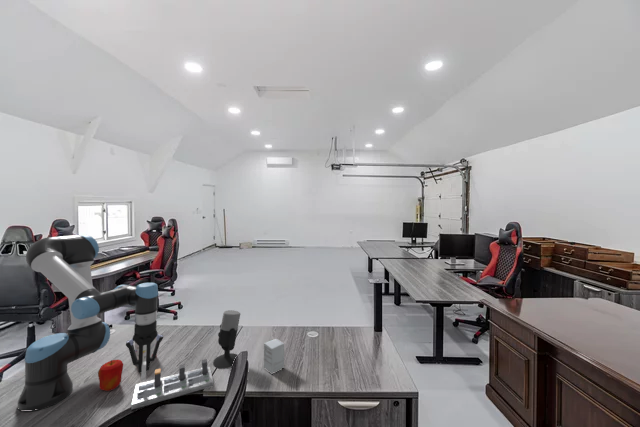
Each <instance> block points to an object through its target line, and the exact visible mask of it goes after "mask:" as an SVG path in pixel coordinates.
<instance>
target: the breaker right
mask: <svg viewBox="0 0 640 427" xmlns="http://www.w3.org/2000/svg"><path fill="white" fill-rule="evenodd" d="M207 366H208V359H207V358H205V359H204V358H203V359H202V360H201V368H202V371H200V375H203V374H206V373H208V369H207Z"/></svg>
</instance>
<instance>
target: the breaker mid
mask: <svg viewBox="0 0 640 427" xmlns="http://www.w3.org/2000/svg"><path fill="white" fill-rule="evenodd" d="M178 368H179V369H178V374H179V377H178V381H180V380H184V379H186V375H185V372H186V371H185V370H186V369H185V368H186V367H185V363H184V364H179V367H178Z"/></svg>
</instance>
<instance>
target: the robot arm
mask: <svg viewBox="0 0 640 427" xmlns="http://www.w3.org/2000/svg"><path fill="white" fill-rule="evenodd" d="M25 253H26V254H25V261H26V264H27V265H28V266H29V267H30V268H31V270H32V271H33V272H37V273H41V274H42V275H43V276H44V277H45V278H46V279H48V281H49V282H50V283H51V284H52V285H54V286H55V287H56V289H58V290H59V291H60V292H61V293H62V294H63V295H64V296H65V297H66V298H67V299H68V306H69V307H68V308H69V314H70V323H71V324H70V325H69V326H68V328H67V333H66V332H57V333H54V334H50V335H47V336H44V337H41V338H39V339H37V340H35V341H34V342H32V343H31V344H30V345H29V346H28V347H27V349H26V351H25V356H24V362H25V363H24V364H25V367H24V368H25V369H24V374H25V375H24V376H25V377H24V387H23V389H22V391H21V394H20V395H19V398H18V400H17V409H18V408H19V409H20V410H35V409H40V410H42V408H43V409H46V408H48V406H49V407H51V406H53V405H56V404H58V403H59V402H61V401H62V400H64V399H66V398H67V397H68V396H70V394H71V393H72V391H73V388H74V387H73V384H74V383H73V380H72V379H71V377H70V375H69V373H68V365H69V364H71V363H73V362H74V361H77V360H80V359H82V358H84V357H86V356H89V355H90V354H94V353H97V351H99V350H101V349H102V348H105V346H107V344H108V343H109V340H110V338H111V328H110V326H109V325H108V323H107V322H105V321H103V320H102V318H100V317H98V315H101V314H104V313H106V312H109V311H110V312H111V311H113V310H116V309H119V308H121V307H125V306H131V307H134V310H135V311H134V323H135V324H134V333H133V336H132V338H131V339H128V340H127V341H126V343H125V346H126V347H127V349H128V351H129V354H130V358H131V362H132V365H133V366H138V368H137V369H138V370H137V371H138V372H137V373H138V374H140V373H141V374H140V375H141V378H140V382H146V379H147V372H149V371H150V368H151V362H154V361H155V360H156V358H157V356H156V354H157V355H158V351H159V348H160V344H161V342H162V341H163V340H164V334H158V333H159V332H158V331H157V319H158V299H159V298H158V296H159V289H158V288H159V287H158V284H157V283H155V282H143V283H140V284H137V285H131V284H120V285H117V286H116V287H114V289H112V290H108V291H103V292H100V291H99V290H98V289H96V287H95V286H94V285H93V276H92V269H91V265H93V264H94V263H95V261H94V259H95V258H97V257H98V255H99V253H100V246H99V244H98V241H97V239H95V238H94V237H92V236H91V235H87V234H86V235H85V234H82V235H80V234H76V235H63V236H49V237H44V238H43V237H42V238H41V239H38V240H36V241H35V242H34V243H32V244H31V245H30V246H29V248H28V249H27V251H26V252H25ZM156 337H157V338H156ZM155 338H156V340H157V342H156V345H155V349H154V352H153V355H152V357H150V349H151V343H152V342H153V340H154V339H155ZM135 343H136V344H137V345H139V360H137V356H136V353H135ZM143 345H147V352H146V361H145V362H142V361H143ZM45 407H46V408H45Z"/></svg>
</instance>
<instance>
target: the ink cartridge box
mask: <svg viewBox="0 0 640 427" xmlns="http://www.w3.org/2000/svg"><path fill="white" fill-rule="evenodd" d="M156 338H157V337H156ZM156 338H155V339H154V340H153V342H152V343H151V349H150V357H152V355H153V352H154V349H155V345H156V342H157V340H156ZM134 349H135V353H136V356H137V360H139V345H137V344H136V343H135V342H134ZM146 352H147V345H143V361H142V362H145V361H146ZM157 356H158V353H157V354H156V357H157Z"/></svg>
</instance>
